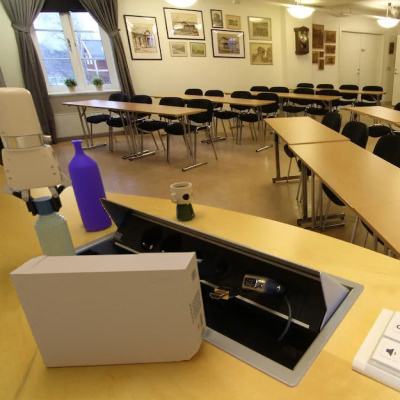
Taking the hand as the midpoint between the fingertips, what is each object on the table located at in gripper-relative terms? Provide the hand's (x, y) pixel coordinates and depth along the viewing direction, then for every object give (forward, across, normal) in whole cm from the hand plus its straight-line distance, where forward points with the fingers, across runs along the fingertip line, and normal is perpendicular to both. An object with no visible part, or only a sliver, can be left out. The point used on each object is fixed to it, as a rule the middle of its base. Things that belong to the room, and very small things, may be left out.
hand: (46, 211), depth 83 cm
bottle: (+16, -7, -23) cm, 29 cm away
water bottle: (+16, 0, 0) cm, 16 cm away
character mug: (+16, -35, -16) cm, 42 cm away
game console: (+16, -15, +44) cm, 49 cm away
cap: (0, 0, 0) cm, 0 cm away
